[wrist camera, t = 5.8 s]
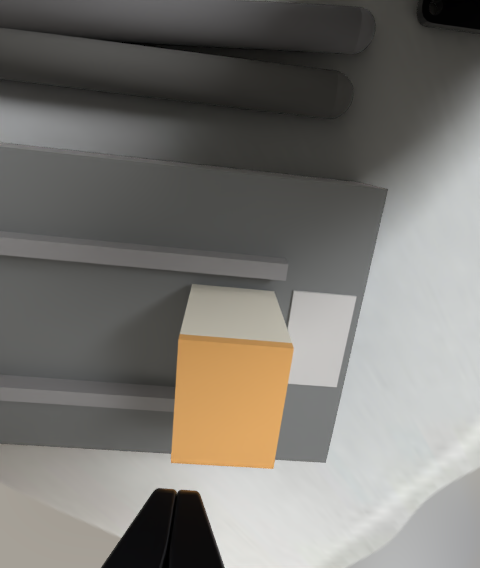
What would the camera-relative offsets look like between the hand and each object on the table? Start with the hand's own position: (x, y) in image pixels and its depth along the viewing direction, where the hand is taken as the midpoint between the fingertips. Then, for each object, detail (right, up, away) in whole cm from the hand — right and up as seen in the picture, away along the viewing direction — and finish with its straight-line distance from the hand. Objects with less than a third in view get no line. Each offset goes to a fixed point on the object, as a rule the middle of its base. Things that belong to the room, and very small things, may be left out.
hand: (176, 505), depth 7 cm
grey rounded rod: (-2, +12, +7) cm, 14 cm away
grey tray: (-3, +4, +10) cm, 11 cm away
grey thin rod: (-1, +14, +7) cm, 15 cm away
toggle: (+1, +2, +8) cm, 8 cm away
